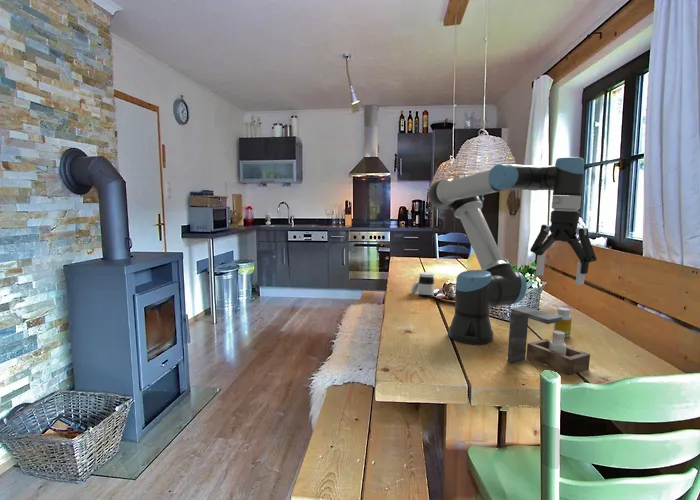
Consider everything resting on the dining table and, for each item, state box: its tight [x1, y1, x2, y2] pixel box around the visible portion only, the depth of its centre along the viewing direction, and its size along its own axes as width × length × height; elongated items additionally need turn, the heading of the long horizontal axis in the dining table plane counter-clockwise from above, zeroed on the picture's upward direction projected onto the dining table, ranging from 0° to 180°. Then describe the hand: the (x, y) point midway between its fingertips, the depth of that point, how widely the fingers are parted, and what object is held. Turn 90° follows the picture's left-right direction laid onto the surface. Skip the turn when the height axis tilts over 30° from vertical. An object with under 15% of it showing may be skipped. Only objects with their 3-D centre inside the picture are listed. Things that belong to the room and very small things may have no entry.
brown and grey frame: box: [506, 306, 591, 376], centre depth 114 cm, size 14×18×17 cm
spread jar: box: [410, 271, 435, 299], centre depth 198 cm, size 12×11×12 cm
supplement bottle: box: [553, 307, 572, 338], centre depth 142 cm, size 5×5×10 cm
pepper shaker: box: [549, 330, 568, 356], centre depth 117 cm, size 4×4×10 cm
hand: (558, 279), depth 120 cm, fingers open, 13 cm apart
